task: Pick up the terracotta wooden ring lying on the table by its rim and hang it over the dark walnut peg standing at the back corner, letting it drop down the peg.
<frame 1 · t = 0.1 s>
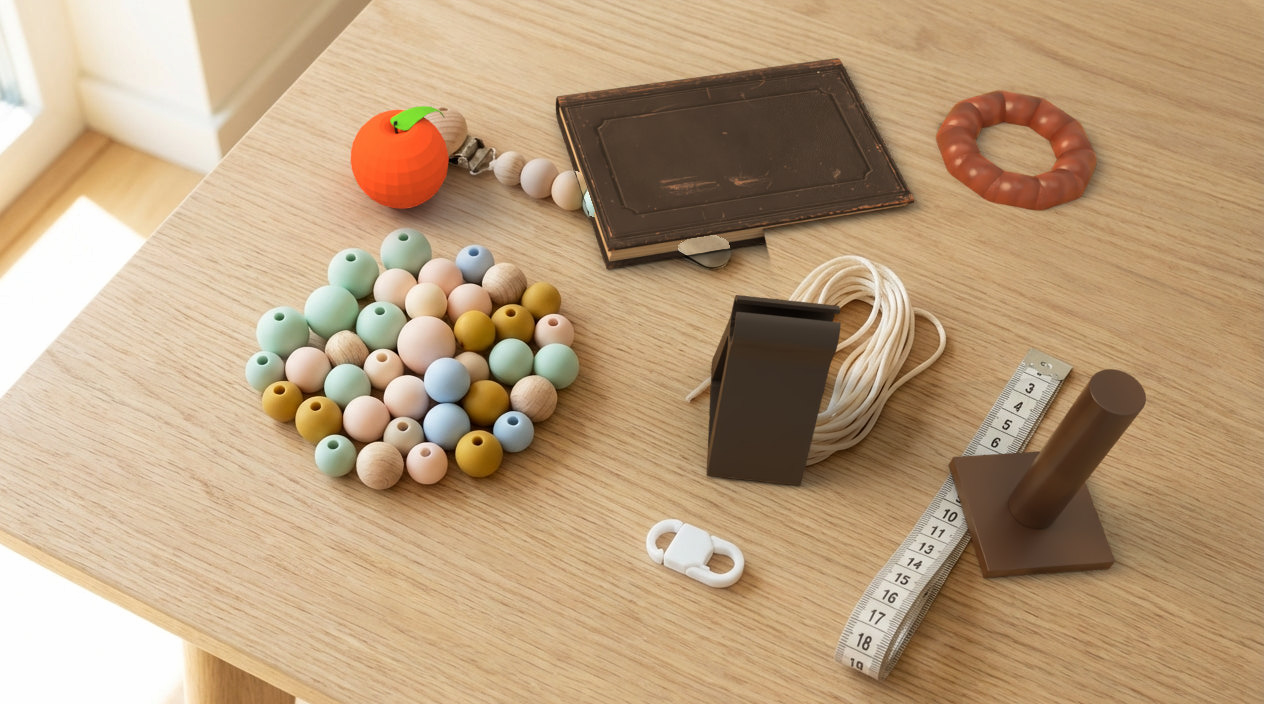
hardcover book: (726, 168, 93), on the table
ring: (1015, 151, 93), point 1 cm above the table
clementine: (408, 191, 90), on the table
peg: (1026, 515, 77), on the table
phone stand: (753, 424, 80), on the table
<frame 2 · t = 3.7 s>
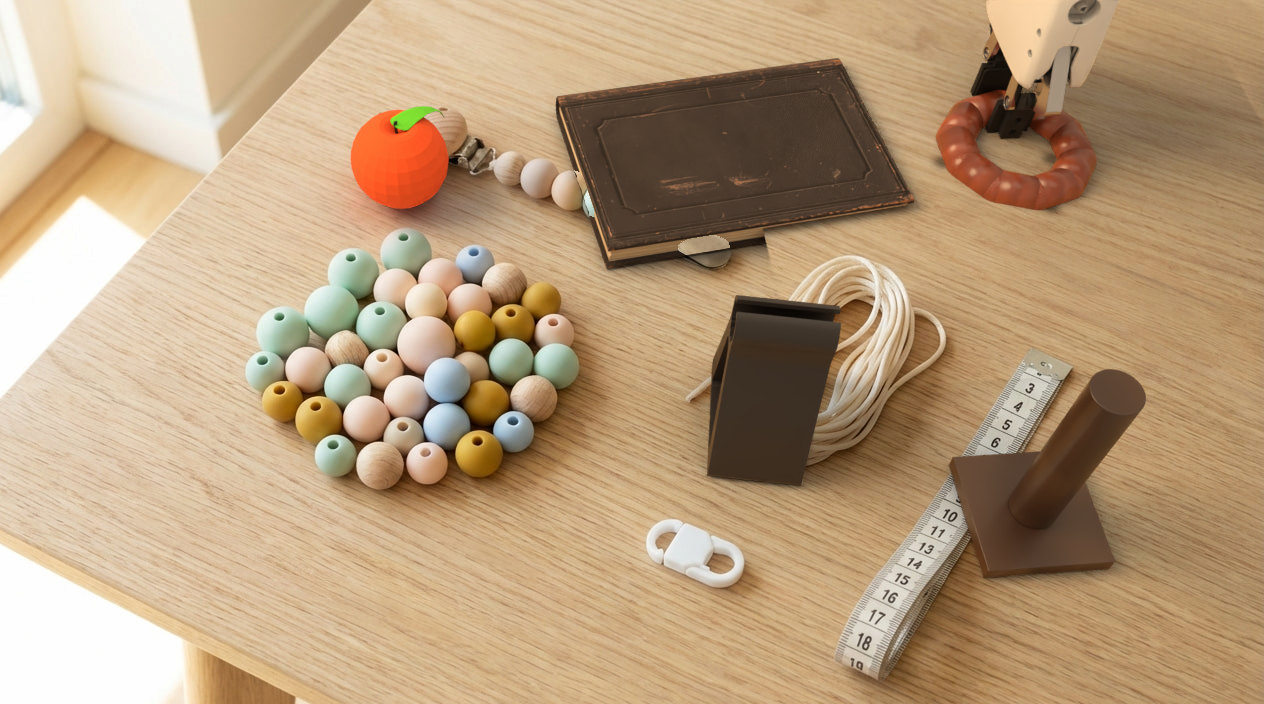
hand: (994, 119, 96), 0 cm above the table, tool pointing down, fingers closed on ring, 3 cm apart
ring: (1015, 150, 93), point 1 cm above the table, touching gripper
everything else where it was.
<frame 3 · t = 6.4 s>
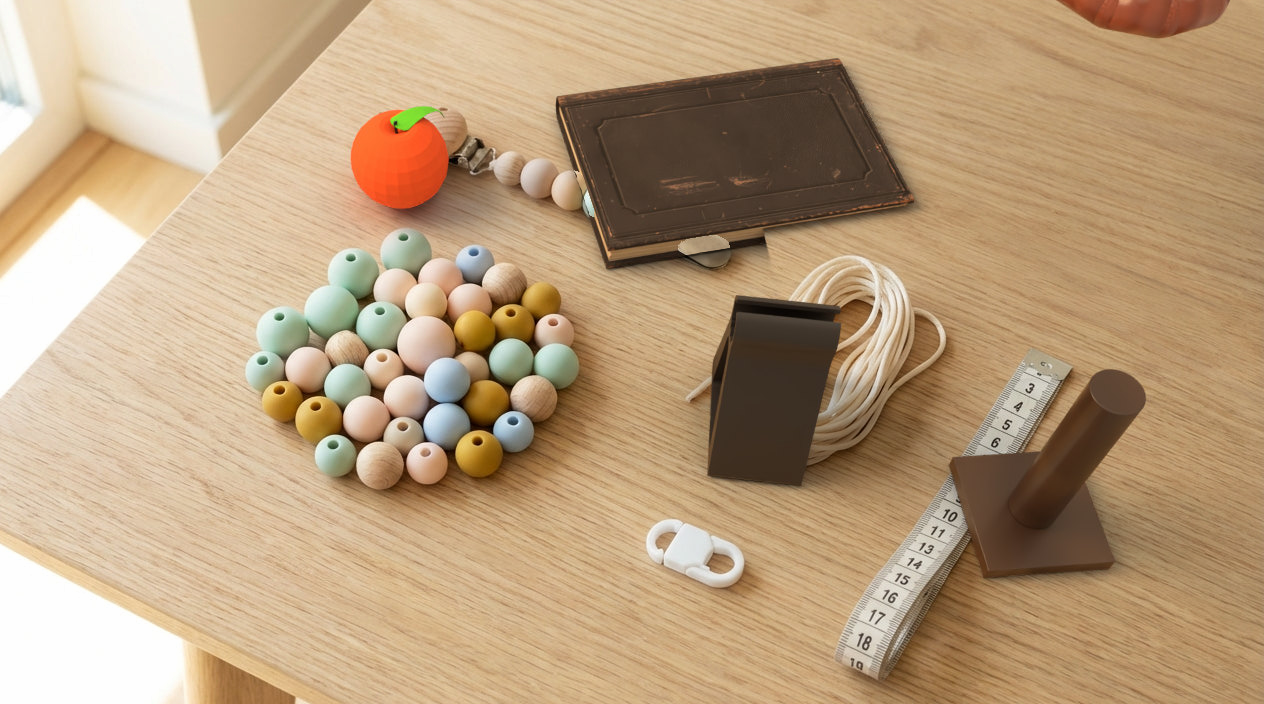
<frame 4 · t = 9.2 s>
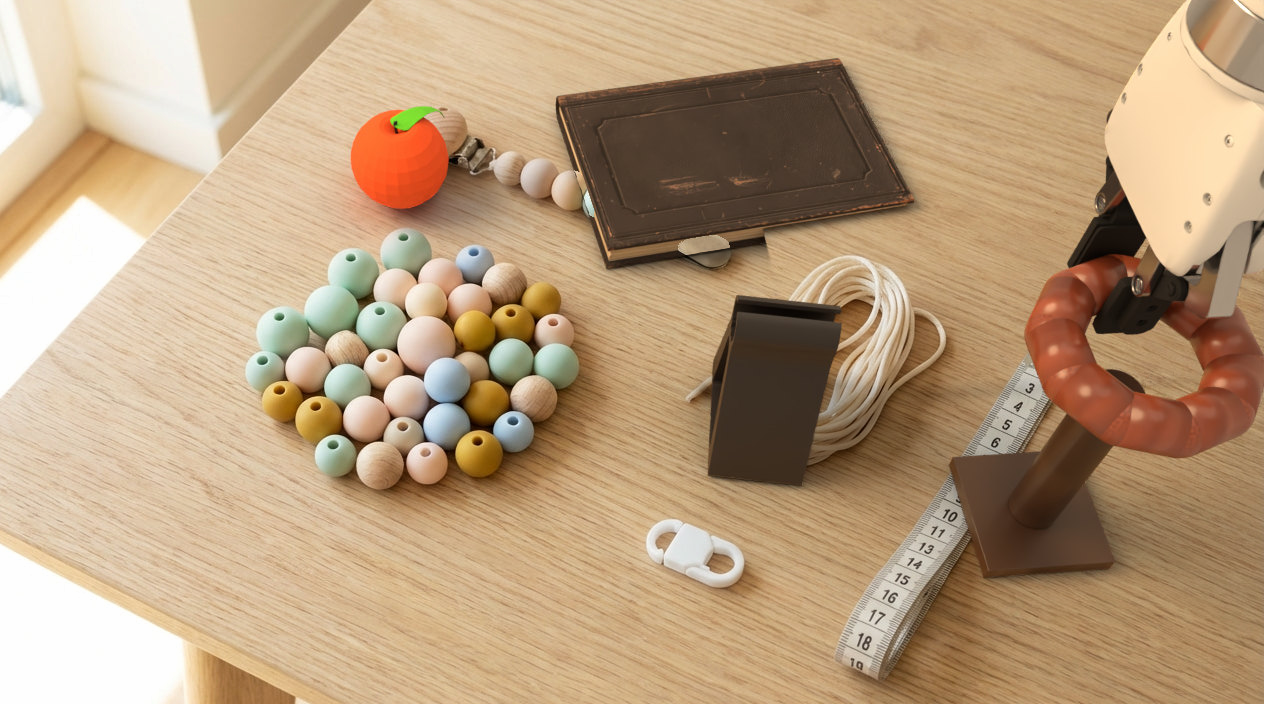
hand: (1108, 296, 65), 17 cm above the table, tool pointing down, fingers closed on ring, 3 cm apart
ring: (1144, 352, 62), point 18 cm above the table, touching gripper
everything else where it was.
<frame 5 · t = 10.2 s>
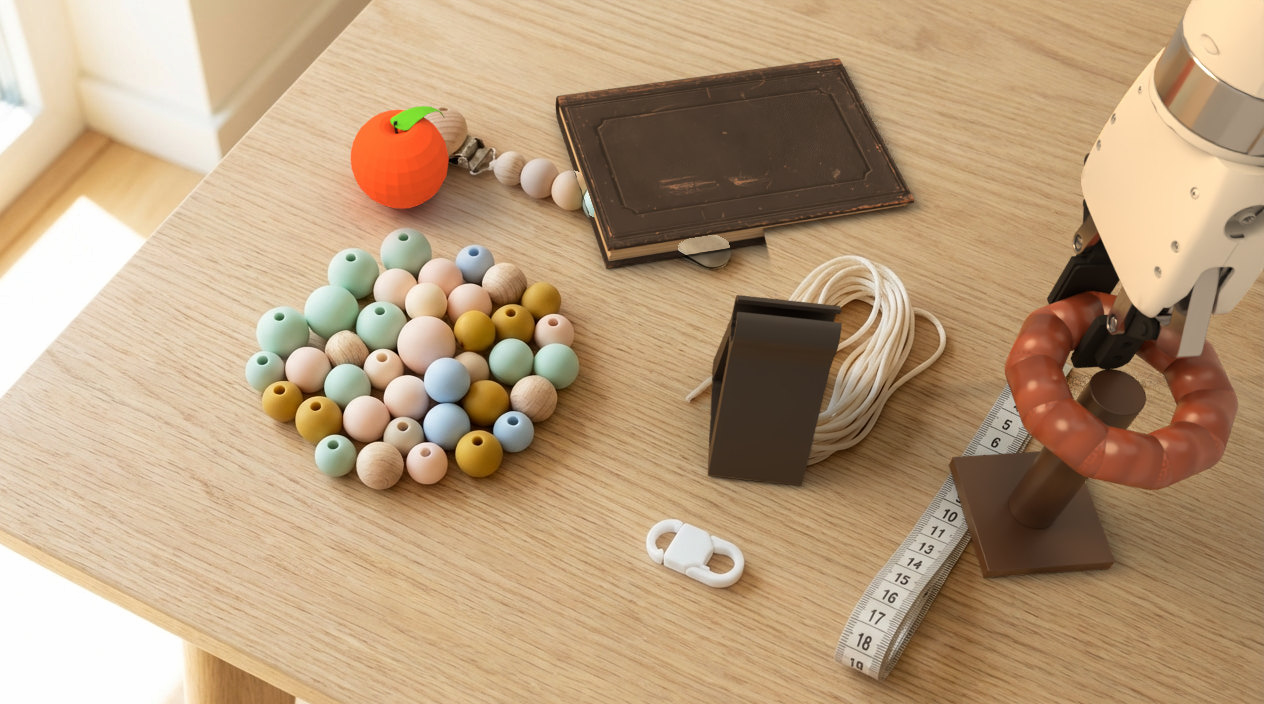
hand: (1086, 331, 68), 14 cm above the table, tool pointing down, fingers closed on ring, 3 cm apart
ring: (1119, 386, 65), point 14 cm above the table, touching gripper
everything else where it was.
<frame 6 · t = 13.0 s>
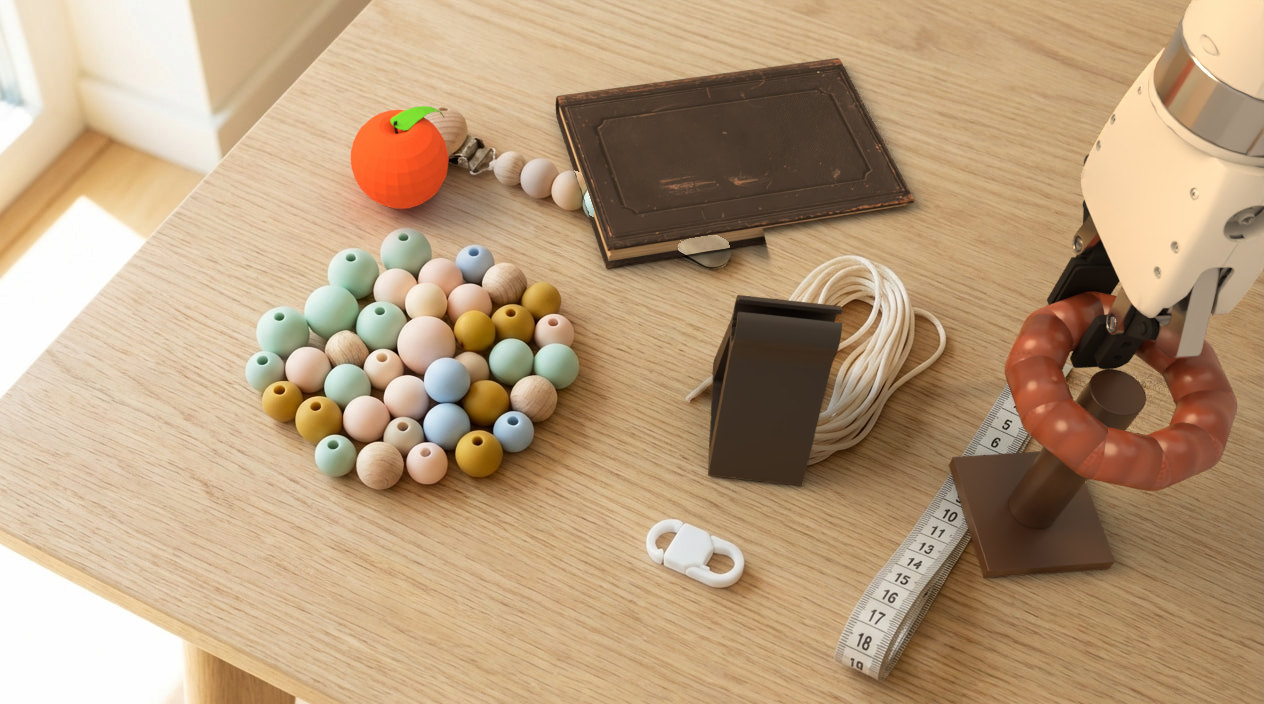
hand: (1086, 331, 68), 13 cm above the table, tool pointing down, fingers closed on ring, 3 cm apart
ring: (1119, 387, 65), point 14 cm above the table, touching gripper
everything else where it was.
when the fingers open (15 cm above the table, at t = 15.1 s): ring drops 13 cm, resting on peg.
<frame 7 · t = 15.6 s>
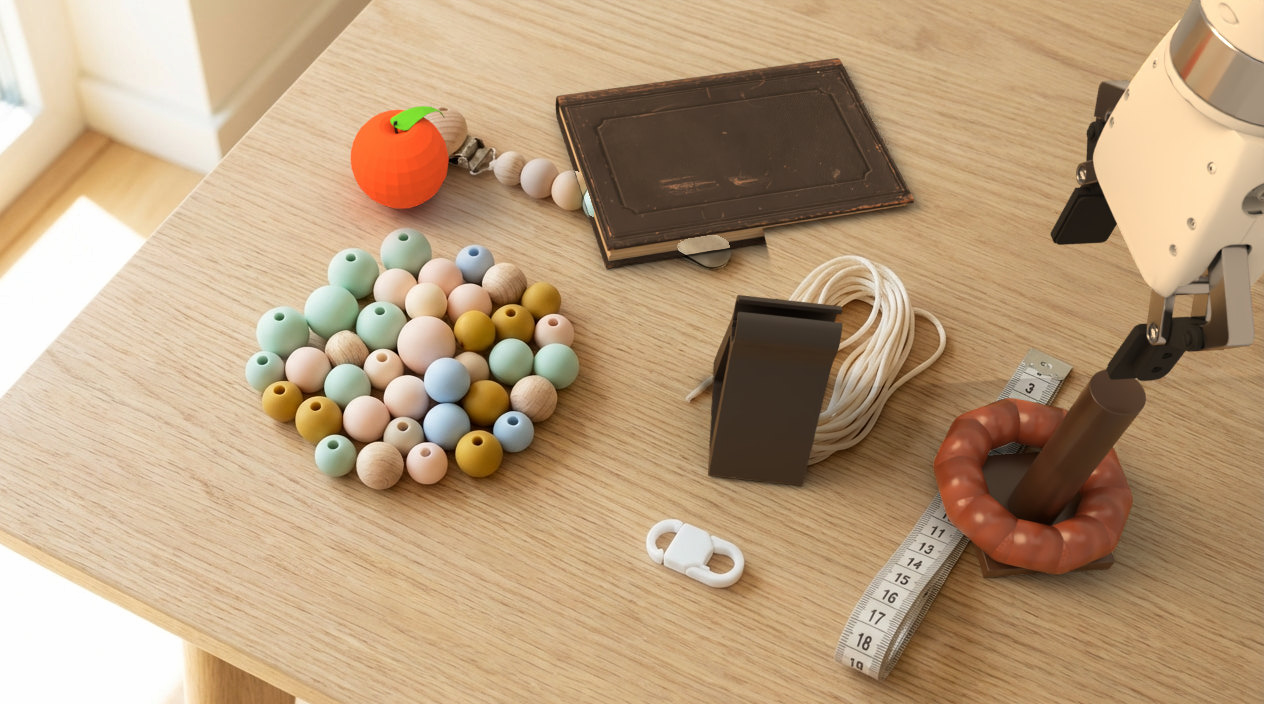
hand: (1105, 303, 66), 16 cm above the table, tool pointing down, fingers open, 8 cm apart
ring: (1031, 483, 75), point 2 cm above the table, touching peg
everything else where it was.
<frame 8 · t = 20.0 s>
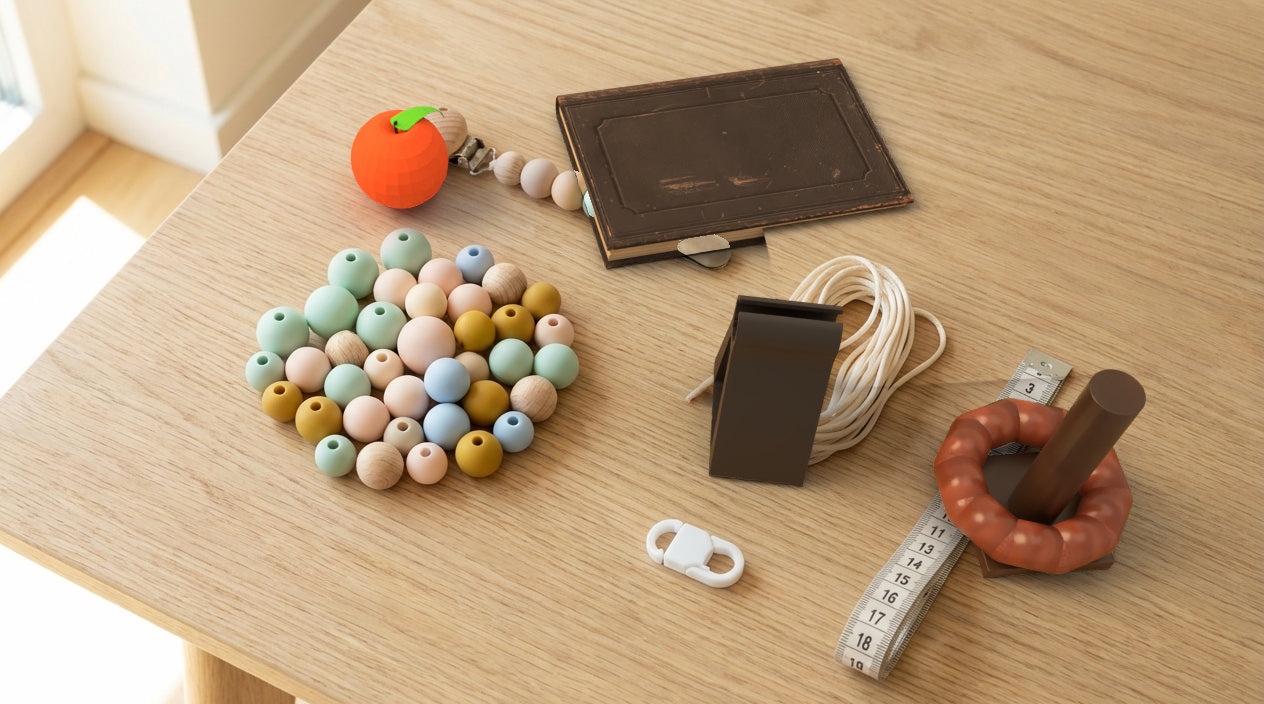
nothing on the table moved.
at the end: ring 1.0 cm off-centre on the peg, point 2.4 cm above the peg's base; the gripper is holding nothing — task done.
